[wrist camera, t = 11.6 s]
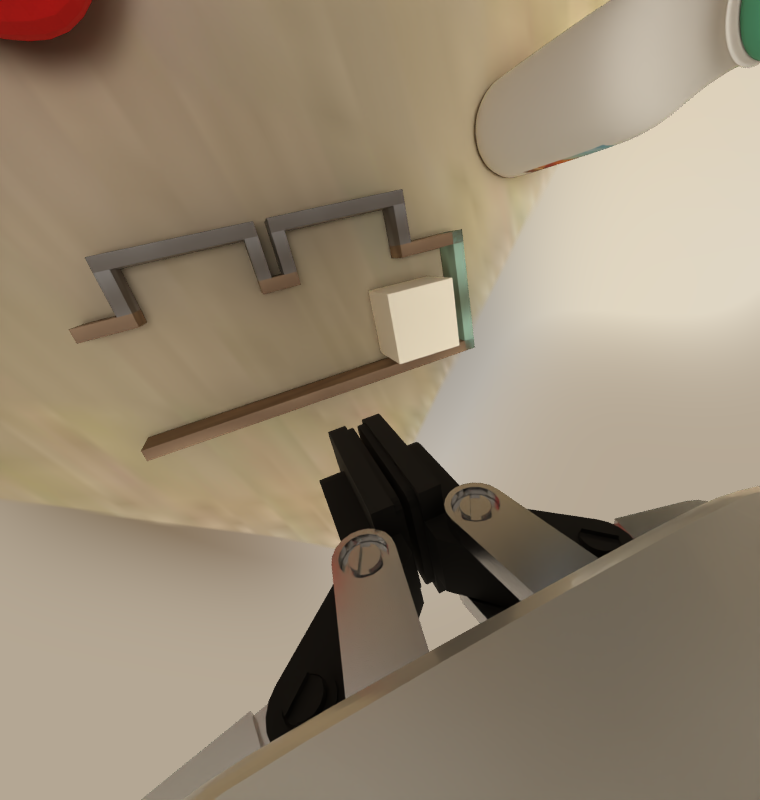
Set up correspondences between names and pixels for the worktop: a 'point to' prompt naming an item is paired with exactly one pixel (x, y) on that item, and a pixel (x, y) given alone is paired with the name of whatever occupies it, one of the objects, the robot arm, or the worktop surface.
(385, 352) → the block
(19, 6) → the tomato
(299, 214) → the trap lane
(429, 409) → the worktop surface
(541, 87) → the milk bottle
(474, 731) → the robot arm
